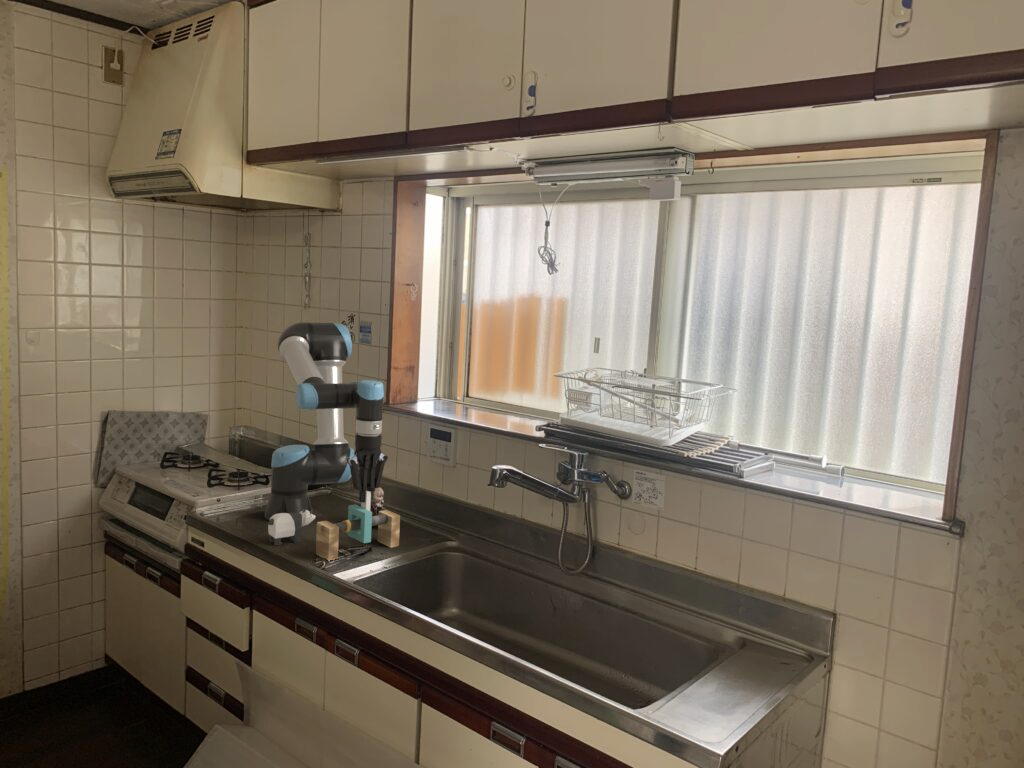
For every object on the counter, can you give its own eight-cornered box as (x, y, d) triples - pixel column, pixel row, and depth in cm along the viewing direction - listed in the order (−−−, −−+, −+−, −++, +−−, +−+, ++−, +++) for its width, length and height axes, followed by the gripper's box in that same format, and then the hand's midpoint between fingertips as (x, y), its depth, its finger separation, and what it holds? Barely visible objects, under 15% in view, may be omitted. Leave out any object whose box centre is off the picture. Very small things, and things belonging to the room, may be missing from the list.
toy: (386, 530, 246) (375, 485, 245) (362, 535, 248) (350, 490, 247) (396, 522, 255) (385, 478, 254) (373, 527, 257) (361, 483, 256)
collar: (363, 543, 224) (365, 513, 223) (347, 535, 231) (348, 505, 230) (370, 541, 226) (372, 512, 225) (354, 533, 232) (355, 504, 231)
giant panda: (272, 547, 227) (273, 515, 226) (264, 541, 231) (265, 510, 230) (318, 539, 236) (319, 508, 235) (310, 534, 240) (311, 504, 239)
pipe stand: (328, 561, 218) (329, 527, 217) (315, 554, 223) (316, 521, 222) (398, 545, 235) (400, 514, 233) (385, 539, 240) (387, 508, 238)
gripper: (356, 438, 219) (353, 519, 222) (394, 434, 228) (391, 512, 231) (342, 433, 224) (339, 512, 227) (380, 429, 233) (376, 505, 236)
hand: (365, 512), depth 229 cm, fingers closed
